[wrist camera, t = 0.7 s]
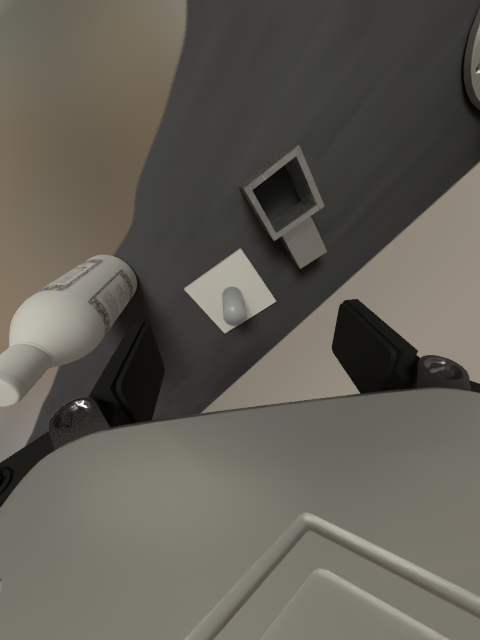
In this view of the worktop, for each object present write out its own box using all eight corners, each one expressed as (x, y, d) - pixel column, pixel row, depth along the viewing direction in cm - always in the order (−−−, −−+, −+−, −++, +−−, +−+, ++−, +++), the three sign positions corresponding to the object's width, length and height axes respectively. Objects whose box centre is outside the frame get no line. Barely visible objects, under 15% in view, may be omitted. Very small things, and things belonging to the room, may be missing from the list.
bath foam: (78, 285, 32) (-80, 407, 15) (93, 242, 29) (-77, 333, 12) (127, 308, 34) (41, 435, 17) (146, 271, 31) (65, 379, 15)
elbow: (238, 186, 27) (243, 188, 22) (284, 151, 26) (299, 144, 21) (284, 264, 33) (296, 279, 28) (323, 239, 31) (342, 249, 27)
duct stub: (240, 248, 31) (245, 262, 26) (275, 300, 36) (286, 322, 30) (184, 288, 33) (178, 309, 28) (224, 332, 38) (226, 357, 33)
